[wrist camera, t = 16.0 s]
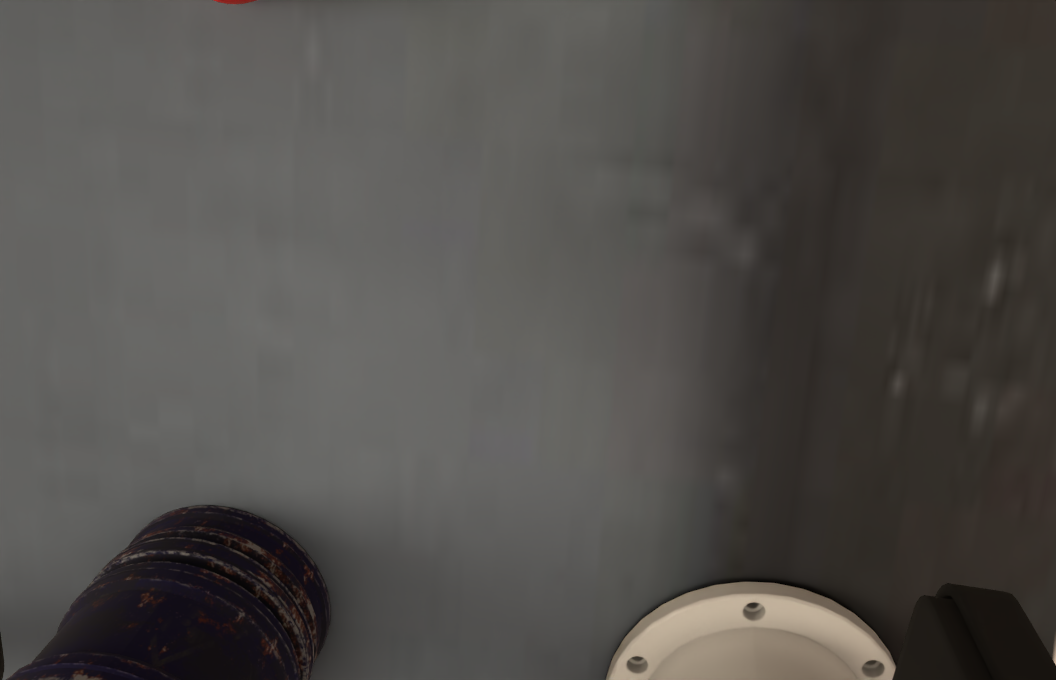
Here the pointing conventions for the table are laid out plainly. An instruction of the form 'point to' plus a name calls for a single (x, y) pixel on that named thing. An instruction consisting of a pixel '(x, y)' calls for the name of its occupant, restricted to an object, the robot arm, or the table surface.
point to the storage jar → (195, 606)
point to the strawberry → (234, 1)
